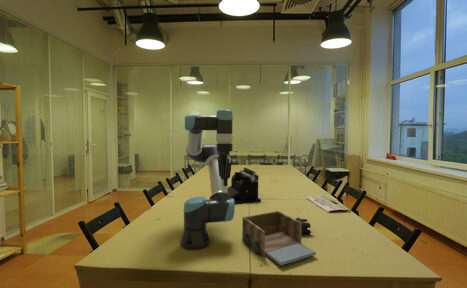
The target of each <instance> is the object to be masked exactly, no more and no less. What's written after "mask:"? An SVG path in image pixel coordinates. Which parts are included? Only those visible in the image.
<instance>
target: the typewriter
mask: <svg viewBox="0 0 467 288" xmlns="http://www.w3.org/2000/svg"><path fill="white" fill-rule="evenodd" d="M230 178H231V181H230V182H231V184H230V185H229V186H228V192H227V193H228V194H229V195H230V199H231V198H233V199H234V202H235V204H236V205H244V204H243V203H246V204H254V202H256V203H261V202H262V199H261V198H259V175H258V174H257V172H256V171H254V170H252V169H249V168H247V167H244V168H243V169H241V170H239V171H235V172H234V174H232V175H231V177H230Z"/></svg>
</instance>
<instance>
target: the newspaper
mask: <svg viewBox="0 0 467 288" xmlns="http://www.w3.org/2000/svg"><path fill="white" fill-rule="evenodd" d="M305 199H307V200H308V201H310V202H311V203H313V204H315V206H317V207H319V208H320V209H322V210H323V211H325V212H326V213H328V214H330V213H331V211H342V212H344V211H346V212H345V213H350V212H351V213H352V210H351V209H349V208H348V207H346V206H344V205H342V204H340V203H338V202H336V201H335V200H334V199H333V200H332V199H331V198H329V197H327V196H325V195H307V196H305ZM343 210H344V211H343Z"/></svg>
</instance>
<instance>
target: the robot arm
mask: <svg viewBox="0 0 467 288" xmlns="http://www.w3.org/2000/svg"><path fill="white" fill-rule="evenodd" d="M233 119H234V117H233V111H232V110H230V109H217V110H216V115H202V114H201V115H200V114H199V115H197V114H195V115H194V114H191V115H185V116H184V130H185V131H187V132H188V134H187V146H186V147H185V148H186V151H185V152H186V154H187V156H188V157H189V159H191V160H193V161H194V162H197V163H205V164H206V166H207V167H208V172H209V181H210V192H211V194H210V196H209V199H207V197H206V196H195V197H191V198H188V199H187V200H186V201H185V202H184V203H183V231H182V235H181V237H180V246H181V248H183V249H185V250H189V251H195V250H196V251H197V250H201V249H202V250H203V249H204V248H206V247H208V246H209V245H210V243H211V238H210V237H211V236H210V234H209V230H208V228H207V224H210V223H211V224H212V223H213V224H214V223H225V222H230V221H232V220H234V216H235V209H236V207H235V202H234V199H233V198H231V199H230V195H229V194H228V193H227V192H228V187H229V186H228V185H229V183H228V182H229V181H228V180H229V179H230V178H231V174H232V173H231V172H232V165H233V161H234V160H233V158H231V153H230V152H232V151H233V138H234V136H233ZM203 131H216V138H215V139H216V144H202V140H203V134H204V133H203Z"/></svg>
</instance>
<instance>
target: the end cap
mask: <svg viewBox="0 0 467 288" xmlns="http://www.w3.org/2000/svg"><path fill="white" fill-rule="evenodd" d="M294 219H295V220H297V221H299V222H301V223H302V232H301V236H311V228H312V227H311V223H310V222H309V221H308V219H306V218H300V217H296V218H294Z"/></svg>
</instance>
